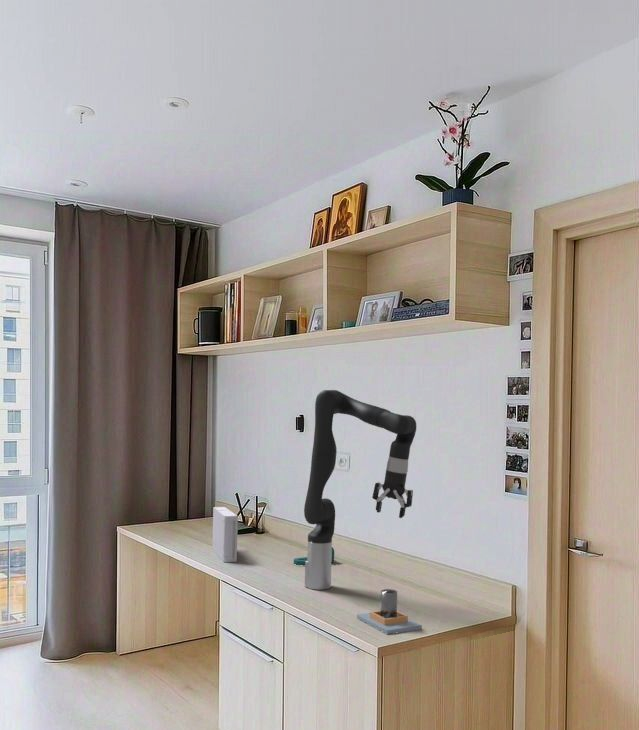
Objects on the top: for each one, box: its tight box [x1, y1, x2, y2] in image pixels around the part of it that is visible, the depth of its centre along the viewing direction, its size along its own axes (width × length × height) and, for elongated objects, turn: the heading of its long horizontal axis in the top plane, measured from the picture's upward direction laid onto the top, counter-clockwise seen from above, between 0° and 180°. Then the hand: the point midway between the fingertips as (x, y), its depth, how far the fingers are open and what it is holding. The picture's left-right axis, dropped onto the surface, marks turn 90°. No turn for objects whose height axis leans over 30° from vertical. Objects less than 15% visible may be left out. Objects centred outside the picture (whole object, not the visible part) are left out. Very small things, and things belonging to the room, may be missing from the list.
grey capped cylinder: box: [380, 588, 398, 618], centre depth 235 cm, size 5×5×9 cm
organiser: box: [356, 610, 423, 635], centre depth 235 cm, size 18×13×3 cm
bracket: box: [293, 546, 335, 566], centre depth 319 cm, size 18×7×8 cm, turn 121°
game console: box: [211, 506, 239, 563], centre depth 330 cm, size 6×27×20 cm, turn 19°
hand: (389, 514), depth 262 cm, fingers open, 8 cm apart
